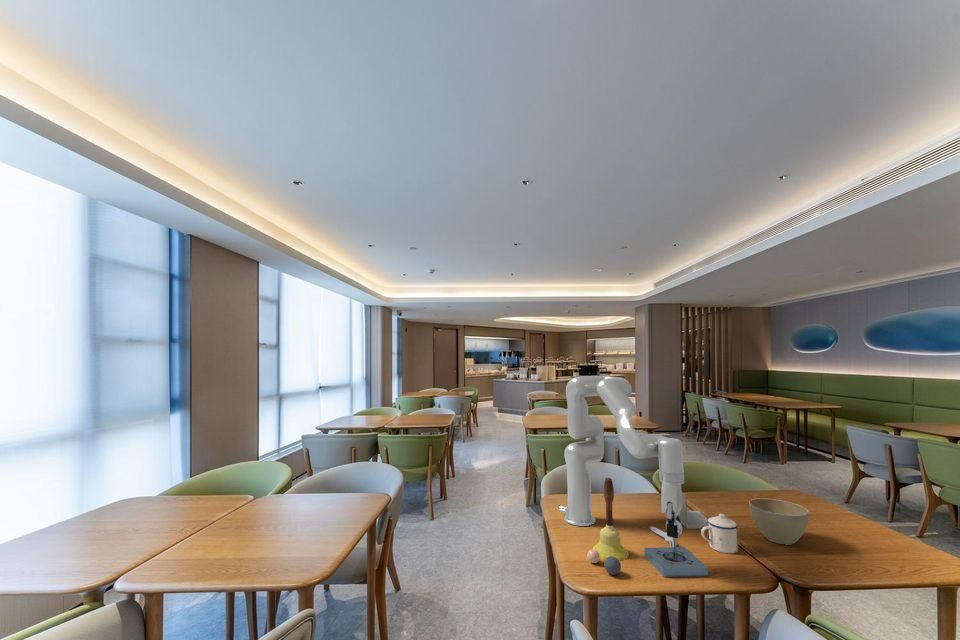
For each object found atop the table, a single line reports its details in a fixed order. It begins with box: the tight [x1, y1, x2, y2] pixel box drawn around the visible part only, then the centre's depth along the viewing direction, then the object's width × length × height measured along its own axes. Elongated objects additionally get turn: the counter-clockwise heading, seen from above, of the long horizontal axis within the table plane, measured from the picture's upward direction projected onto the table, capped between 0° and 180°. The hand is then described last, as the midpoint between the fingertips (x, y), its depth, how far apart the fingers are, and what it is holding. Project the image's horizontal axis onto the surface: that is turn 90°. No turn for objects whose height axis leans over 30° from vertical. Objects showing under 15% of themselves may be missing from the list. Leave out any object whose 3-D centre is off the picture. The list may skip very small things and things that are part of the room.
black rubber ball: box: [603, 556, 622, 576], centre depth 131 cm, size 5×5×5 cm
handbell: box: [591, 477, 630, 562], centre depth 146 cm, size 12×12×25 cm
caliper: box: [649, 525, 678, 547], centre depth 155 cm, size 20×1×6 cm, turn 1°
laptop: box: [680, 491, 709, 530], centre depth 174 cm, size 18×12×13 cm
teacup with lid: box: [700, 513, 738, 554], centre depth 149 cm, size 12×9×12 cm
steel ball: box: [665, 520, 683, 536], centre depth 137 cm, size 5×5×5 cm
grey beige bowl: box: [748, 497, 810, 546], centre depth 155 cm, size 18×18×12 cm
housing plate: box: [643, 546, 709, 578], centre depth 136 cm, size 14×14×2 cm
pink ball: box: [586, 548, 601, 564], centre depth 138 cm, size 4×4×4 cm
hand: (674, 533), depth 137 cm, fingers closed on steel ball, 5 cm apart
